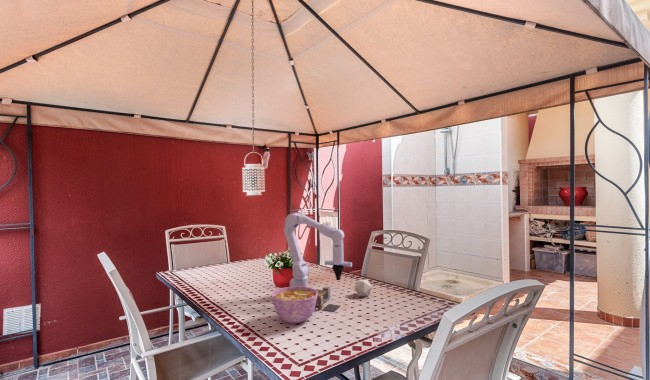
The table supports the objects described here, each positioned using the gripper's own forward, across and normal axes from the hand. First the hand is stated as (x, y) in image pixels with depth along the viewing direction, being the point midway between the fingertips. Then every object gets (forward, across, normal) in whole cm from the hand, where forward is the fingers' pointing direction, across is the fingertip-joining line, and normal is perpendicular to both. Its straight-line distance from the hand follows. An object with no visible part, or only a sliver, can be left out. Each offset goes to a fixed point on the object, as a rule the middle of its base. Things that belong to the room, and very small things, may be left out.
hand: (338, 279), depth 165 cm
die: (+10, +10, +9) cm, 17 cm away
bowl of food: (+10, -8, -32) cm, 34 cm away
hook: (+10, -9, -9) cm, 16 cm away
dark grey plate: (+10, +1, -14) cm, 17 cm away
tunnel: (+10, -5, -14) cm, 18 cm away
